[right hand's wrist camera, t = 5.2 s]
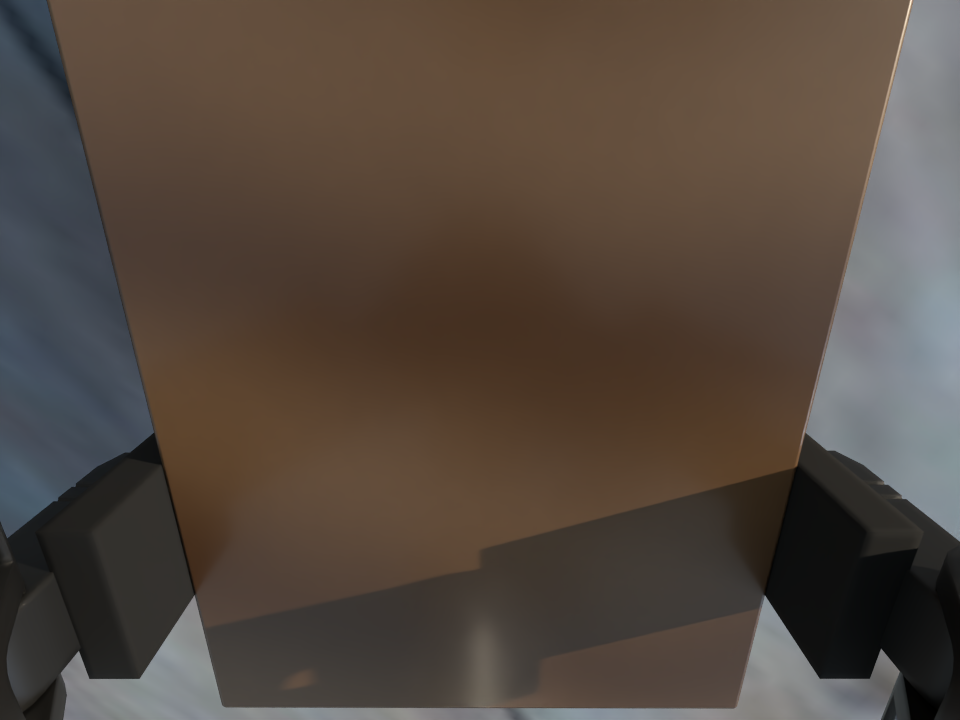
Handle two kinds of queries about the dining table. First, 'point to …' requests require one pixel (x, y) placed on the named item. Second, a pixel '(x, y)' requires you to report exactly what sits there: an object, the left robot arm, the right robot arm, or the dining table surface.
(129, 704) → the dining table surface
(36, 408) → the dining table surface
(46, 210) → the dining table surface
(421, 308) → the cabinet
